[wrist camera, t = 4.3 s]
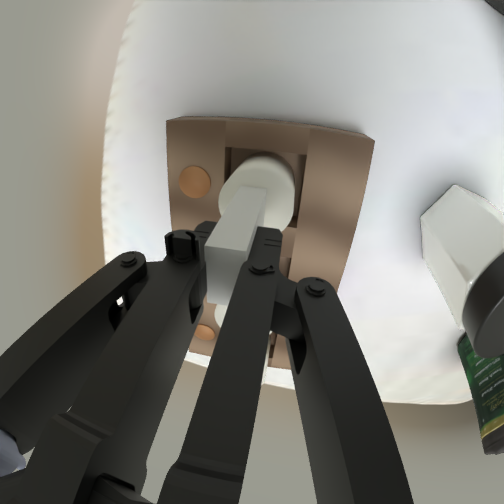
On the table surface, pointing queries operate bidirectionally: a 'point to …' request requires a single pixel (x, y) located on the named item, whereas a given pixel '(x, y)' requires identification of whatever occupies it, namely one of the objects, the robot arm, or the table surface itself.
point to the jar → (468, 264)
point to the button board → (305, 198)
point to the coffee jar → (486, 394)
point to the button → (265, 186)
